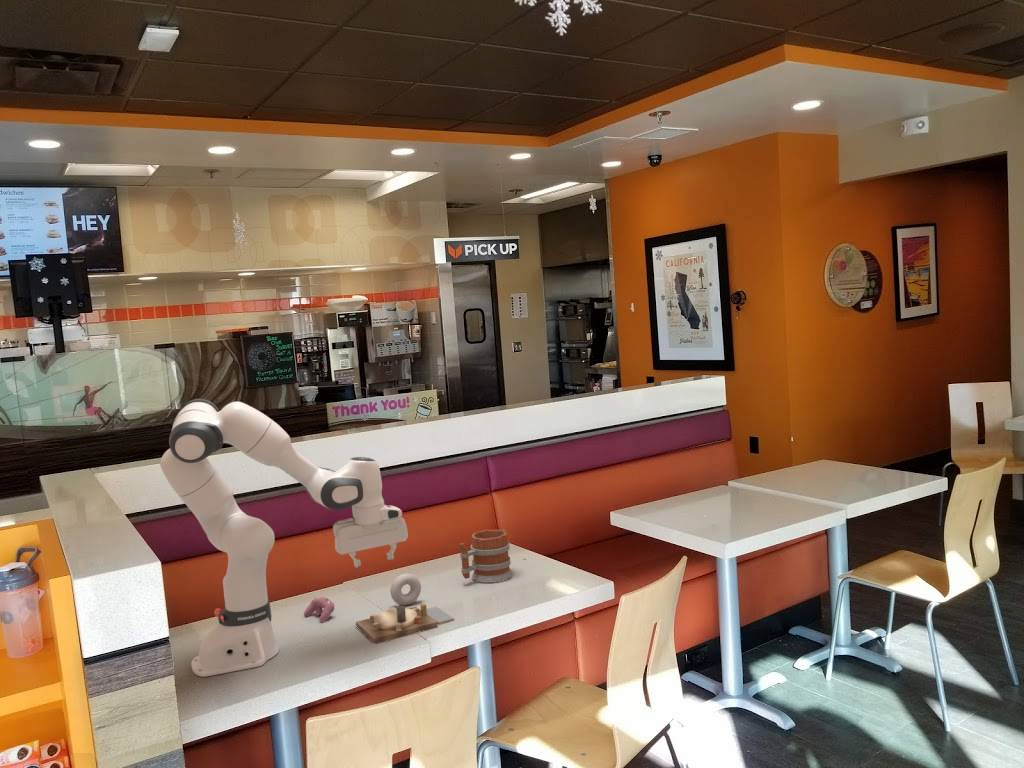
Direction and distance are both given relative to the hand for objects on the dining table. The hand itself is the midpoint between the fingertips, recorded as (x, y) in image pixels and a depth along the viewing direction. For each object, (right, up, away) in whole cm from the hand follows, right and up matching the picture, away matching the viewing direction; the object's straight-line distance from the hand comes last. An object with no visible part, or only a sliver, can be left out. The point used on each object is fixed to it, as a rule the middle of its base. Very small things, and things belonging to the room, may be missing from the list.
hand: (374, 562), depth 225 cm
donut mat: (+16, -19, +15) cm, 29 cm away
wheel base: (+5, -20, +9) cm, 23 cm away
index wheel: (+5, -19, +8) cm, 21 cm away
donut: (+6, -19, +27) cm, 33 cm away
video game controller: (-20, -22, +21) cm, 36 cm away
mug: (+30, -16, +47) cm, 58 cm away
